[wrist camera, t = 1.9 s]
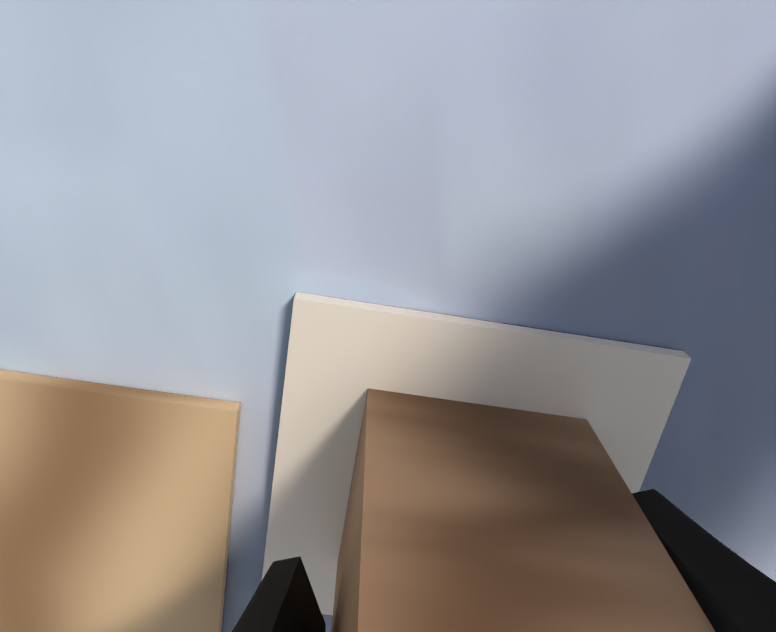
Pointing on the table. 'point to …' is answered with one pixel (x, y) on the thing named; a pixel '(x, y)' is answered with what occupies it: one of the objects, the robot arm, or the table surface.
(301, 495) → the card
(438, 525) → the walnut block
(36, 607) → the cork mat
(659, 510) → the robot arm
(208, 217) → the table surface
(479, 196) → the table surface
